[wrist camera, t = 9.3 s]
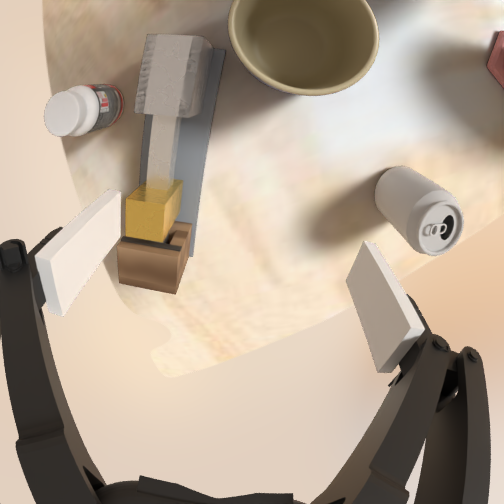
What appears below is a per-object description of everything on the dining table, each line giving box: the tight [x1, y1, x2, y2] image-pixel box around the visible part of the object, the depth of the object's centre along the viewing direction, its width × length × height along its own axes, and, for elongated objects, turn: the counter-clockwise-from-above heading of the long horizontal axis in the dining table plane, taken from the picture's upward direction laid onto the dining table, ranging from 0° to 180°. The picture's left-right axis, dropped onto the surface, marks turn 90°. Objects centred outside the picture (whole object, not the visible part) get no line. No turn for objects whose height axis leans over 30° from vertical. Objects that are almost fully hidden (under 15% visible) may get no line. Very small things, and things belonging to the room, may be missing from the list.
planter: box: [228, 0, 379, 96], centre depth 22 cm, size 12×12×11 cm
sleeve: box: [134, 34, 214, 118], centre depth 25 cm, size 8×5×8 cm
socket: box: [117, 221, 192, 294], centre depth 35 cm, size 5×7×9 cm
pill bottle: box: [44, 84, 124, 137], centre depth 25 cm, size 6×6×10 cm
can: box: [375, 166, 464, 256], centre depth 30 cm, size 8×8×12 cm
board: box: [139, 48, 226, 257], centre depth 33 cm, size 27×8×1 cm, turn 169°
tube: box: [125, 114, 183, 244], centre depth 28 cm, size 22×4×8 cm, turn 169°
